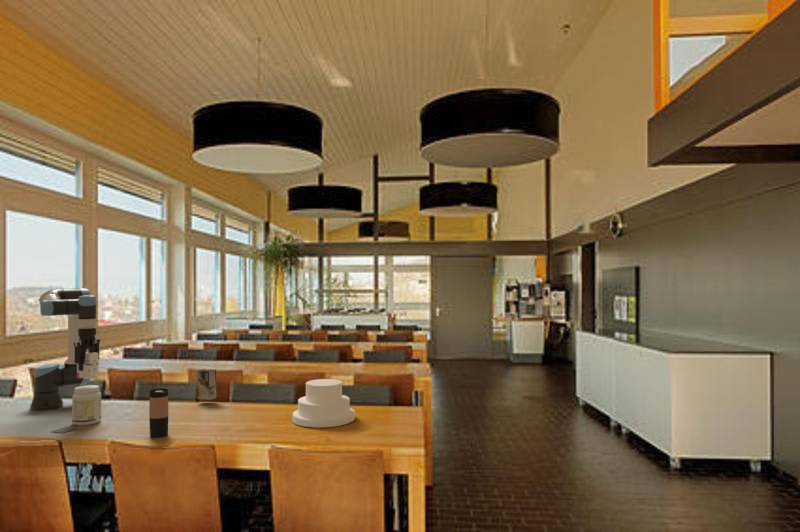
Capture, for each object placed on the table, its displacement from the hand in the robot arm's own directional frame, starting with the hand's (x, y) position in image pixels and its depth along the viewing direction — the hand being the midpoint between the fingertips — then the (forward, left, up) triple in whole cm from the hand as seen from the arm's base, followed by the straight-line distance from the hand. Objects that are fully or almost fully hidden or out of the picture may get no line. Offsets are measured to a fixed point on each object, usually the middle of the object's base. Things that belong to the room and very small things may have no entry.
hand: (87, 376), depth 262 cm
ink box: (0, 0, -1) cm, 1 cm away
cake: (-33, +108, -22) cm, 115 cm away
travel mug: (+11, +49, -22) cm, 55 cm away
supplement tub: (0, 0, -22) cm, 22 cm away
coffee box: (-58, +26, -22) cm, 67 cm away
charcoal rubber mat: (+14, +1, -22) cm, 26 cm away
